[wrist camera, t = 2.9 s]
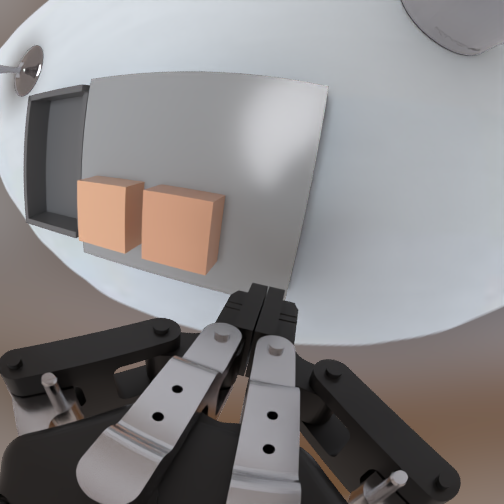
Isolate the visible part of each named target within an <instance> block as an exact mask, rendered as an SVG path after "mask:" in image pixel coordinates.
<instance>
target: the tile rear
mask: <svg viewBox="0 0 504 504" xmlns="http://www.w3.org/2000/svg"><path fill="white" fill-rule="evenodd" d="M144 184H145V182H143V181H135V180H128V179H121V178H113V177H105V176H93V177H89V178H85V179H81V180H77V210H78V232H79V241H83V242H86V243H89V244H93V245H96V246H100V247H103V248H106V249H110V250H113V251H117V252H120V253H124V254H126V253H127V252H129V251H130V250H132V249H133V248H135V247H137V246H138V245H140V244H141V243H142V207H143V190H144Z"/></svg>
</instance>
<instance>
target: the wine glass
mask: <svg viewBox="0 0 504 504" xmlns="http://www.w3.org/2000/svg"><path fill="white" fill-rule="evenodd" d="M42 64H43V51H42V48H41V47H40V46H38V45H35V46H33V47H31V48H30V49H28V50H27V52H26V53H25V54H24V55H23V57H22V59H21V60H20V62H19V65H18V67H9V66H3V65H0V74H1V73H16V74H15V81H14V86H15V91H16V93H17V95H19V96H21V97H22V96H25V95H27V94H28V93H29V92H30V91H31V90H32V88H33V87H34V85H35V84H36V82H37V80H38V77H39V75H40V72H41V68H42Z"/></svg>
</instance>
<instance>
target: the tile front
mask: <svg viewBox="0 0 504 504" xmlns="http://www.w3.org/2000/svg"><path fill="white" fill-rule="evenodd" d="M224 202H225V195H222V194H217V193H211V192H206V191H200V190H194V189H188V188H182V187H176V186H169V185H163V184H161V185H157V186H154V187H151V188H148V189H145V190H143V207H142V259H145V260H149V261H152V262H156V263H160V264H163V265H167V266H171V267H175V268H178V269H182V270H186V271H190V272H194V273H197V274H201V275H206V274H207V273H208V272H209V271H210V269H211V268H212V267H213V266H214V264H215V263H216V262H217V258H218V249H219V241H220V233H221V225H222V217H223V209H224Z"/></svg>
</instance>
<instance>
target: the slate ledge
mask: <svg viewBox="0 0 504 504" xmlns="http://www.w3.org/2000/svg"><path fill="white" fill-rule="evenodd" d="M328 88H329V86H325V85H321V84H315V83H310V82H304V81H299V80H292V79H286V78H279V77H271V76H262V75H252V74H241V73H226V72H154V73H139V74H128V75H118V76H110V77H102V78H96V79H91V83H90V89H89V96H88V102H87V110H86V118H85V128H84V139H83V153H82V178H81V179H85V178H89V177H93V176H105V177H113V178H121V179H128V180H135V181H143V182H145V184H144V190H145V189H148V188H151V187H154V186H157V185H161V184H163V185H169V186H176V187H182V188H188V189H194V190H200V191H206V192H211V193H217V194H222V195H225V202H224V209H223V217H222V225H221V233H220V241H219V249H218V258H217V262H216V263H215V264H214V266H213V267H212V268H211V269H210V271H209V272H208V273H207V274H206V275H201V274H197V273H194V272H190V271H186V270H182V269H178V268H175V267H171V266H167V265H163V264H160V263H156V262H152V261H149V260H145V259H142V243H141V244H140V245H138V246H137V247H135V248H133V249H132V250H130V251H129V252H127V253H126V254H124V253H120V252H117V251H113V250H110V249H106V248H103V247H100V246H96V245H93V244H89V243H86V242H83V248H84V252H85V253H88V254H91V255H94V256H97V257H101V258H104V259H107V260H110V261H113V262H116V263H120V264H123V265H126V266H130V267H133V268H136V269H140V270H143V271H146V272H150V273H153V274H157V275H160V276H164V277H167V278H171V279H174V280H178V281H182V282H185V283H189V284H193V285H196V286H200V287H204V288H207V289H211V290H215V291H219V292H223V293H227V294H233V293H235V292H236V291H238V290H240V291H244V292H248V291H249V289H250V287H251V285H252V283H257V284H261V285H266V286H268V289H269V286H270V287H275V288H279V289H284V290H285V293H284V298H283V301H285V298H286V294H287V290H288V286H289V282H290V278H291V274H292V269H293V265H294V261H295V257H296V252H297V248H298V244H299V239H300V235H301V230H302V226H303V221H304V216H305V212H306V207H307V202H308V197H309V193H310V188H311V183H312V178H313V173H314V167H315V162H316V157H317V152H318V146H319V141H320V135H321V130H322V124H323V118H324V112H325V106H326V100H327V94H328ZM267 292H268V291H267Z"/></svg>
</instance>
